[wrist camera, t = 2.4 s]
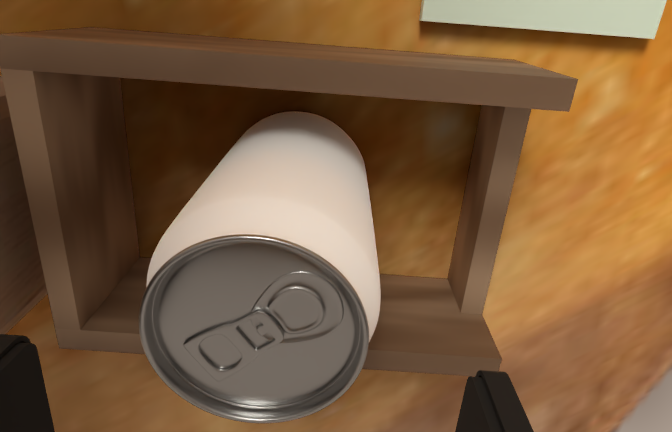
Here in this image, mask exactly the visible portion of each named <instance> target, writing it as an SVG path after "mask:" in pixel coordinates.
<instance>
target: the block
mask: <svg viewBox="0 0 672 432" xmlns="http://www.w3.org/2000/svg"><path fill="white" fill-rule="evenodd" d="M47 294H48V293H47V288H46V283H45V278H44V273H43V269H42V264H41V259H40V254H39V250H38V245H37V240H36V235H35V231H34V226H33V221H32V216H31V212H30V207H29V202H28V197H27V193H26V188H25V183H24V178H23V174H22V169H21V164H20V159H19V155H18V150H17V145H16V140H15V136H14V131H13V126H12V121H11V117H10V112H9V107H8V102H7V98H6V93H5V88H4V83H3V79H2V76H0V334H6V333H7V332H8V331H9V330H10V329H11V328H12V327H13V326H14V325H15V324H17V323H18V322H19V321H20V320H21V319H22V318H23V317H24V316H25V315H26V314H27V313H28V312H29V311H30V310H31V309H32V308H33V307H34V306H35V305H36V304H37V303H38V302H39V301H40V300H42V299H43V298H44V297H45V296H46V295H47Z"/></svg>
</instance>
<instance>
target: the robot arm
mask: <svg viewBox="0 0 672 432" xmlns="http://www.w3.org/2000/svg"><path fill="white" fill-rule="evenodd" d="M0 432H55V431H54V426H53V422H52V417H51V412H50V408H49V403H48V398H47V394H46V389H45V384H44V380H43V375H42V370H41V365H40V361H39V356H38V351H37V348H36V346H35V345H34V344H32V343H30V340H29V339H28V338H27V337H26V336H19V335H6V334H0ZM455 432H534V431H533V429H532V427H531V425H530V423H529V420H528V418H527V416H526V414H525V411H524V409H523V407H522V405H521V403H520V400H519V398H518V396H517V394H516V391H515V389H514V387H513V385H512V382H511V380H510V378H509V376H508V375H507V373H505V372H498V371H485V370H479V371H478V372H477V373H476V376H475V377H472V376H470V377H468V379H467V383H466V387H465V392H464V396H463V400H462V405H461V409H460V414H459V418H458V422H457V427H456V431H455Z"/></svg>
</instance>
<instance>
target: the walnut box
mask: <svg viewBox="0 0 672 432" xmlns="http://www.w3.org/2000/svg"><path fill="white" fill-rule="evenodd" d="M0 69H1V74H2V79H3V83H4V88H5V93H6V98H7V102H8V107H9V112H10V117H11V121H12V126H13V131H14V136H15V140H16V145H17V150H18V155H19V159H20V164H21V169H22V174H23V178H24V183H25V188H26V193H27V197H28V202H29V207H30V212H31V216H32V221H33V226H34V231H35V235H36V240H37V245H38V250H39V254H40V259H41V264H42V269H43V273H44V278H45V283H46V288H47V293H48V297H49V302H50V307H51V312H52V316H53V321H54V326H55V331H56V335H57V340H58V345H59V348H62V349H77V350H92V351H106V352H121V353H136V354H145V352H144V349H143V346H142V343H141V339H140V334H139V309H140V304H141V301H142V297H143V294H144V292H145V290H146V284H147V274H148V269H149V264H150V261H151V258H143V257H140V253H139V245H138V236H137V227H136V218H135V209H134V200H133V191H132V182H131V173H130V164H129V155H128V146H127V137H126V128H125V119H124V110H123V101H122V93H121V84H120V78H132V79H145V80H158V81H172V82H185V83H198V84H211V85H224V86H238V87H251V88H264V89H277V90H290V91H304V92H317V93H330V94H343V95H357V96H370V97H383V98H396V99H409V100H423V101H436V102H449V103H462V104H475V105H482V106H481V111H480V116H479V121H478V126H477V131H476V136H475V141H474V146H473V152H472V157H471V162H470V167H469V172H468V177H467V182H466V187H465V192H464V198H463V203H462V208H461V213H460V218H459V223H458V228H457V233H456V239H455V244H454V249H453V254H452V259H451V264H450V269H449V274H448V279H441V278H427V277H413V276H399V275H384V274H379V276H380V289H381V301H380V312H379V318H378V322H377V325H376V328H375V331H374V333H373V335H372V338H371V340H370V342H369V346H368V352H367V356H366V360H365V362H364V365H363V368H362V369H373V370H387V371H402V372H417V373H432V374H446V375H461V376H476V373H477V372H478V371H479V370H485V371H499V368H500V364H501V360H502V358H501V356H500V354H499V351H498V349H497V347H496V345H495V342H494V340H493V338H492V336H491V334H490V331H489V329H488V327H487V325H486V322H485V320H484V318H483V316H482V313H483V308H484V304H485V300H486V296H487V292H488V288H489V283H490V279H491V275H492V271H493V267H494V262H495V258H496V254H497V250H498V246H499V241H500V237H501V233H502V229H503V225H504V221H505V216H506V212H507V208H508V204H509V200H510V195H511V191H512V187H513V183H514V179H515V175H516V170H517V166H518V162H519V158H520V154H521V149H522V145H523V141H524V137H525V133H526V128H527V124H528V120H529V116H530V112H531V109H541V110H555V111H568V112H569V110H570V107H571V103H572V99H573V96H574V92H575V88H576V85H577V81H578V79H575V78H572V77H569V76H566V75H562V74H559V73H556V72H552V71H549V70H546V69H543V68H539V67H536V66H533V65H529V64H526V63H523V62H520V61H516V60H510V59H497V58H484V57H471V56H458V55H445V54H432V53H420V52H407V51H394V50H381V49H368V48H355V47H342V46H329V45H316V44H303V43H290V42H277V41H264V40H251V39H238V38H225V37H212V36H199V35H186V34H173V33H160V32H147V31H134V30H121V29H108V28H95V27H86V28H72V29H59V30H46V31H33V32H19V33H6V34H0Z"/></svg>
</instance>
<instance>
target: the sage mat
mask: <svg viewBox="0 0 672 432" xmlns="http://www.w3.org/2000/svg"><path fill="white" fill-rule="evenodd" d="M666 1H667V0H422V3H421V11H420V18H419V20H420V21H430V22H443V23H456V24H469V25H482V26H495V27H507V28H520V29H533V30H546V31H559V32H571V33H584V34H597V35H610V36H623V37H635V38H648V39H654V38H655V35H656V32H657V29H658V26H659V22H660V19H661V16H662V13H663V10H664V7H665V4H666Z"/></svg>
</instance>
